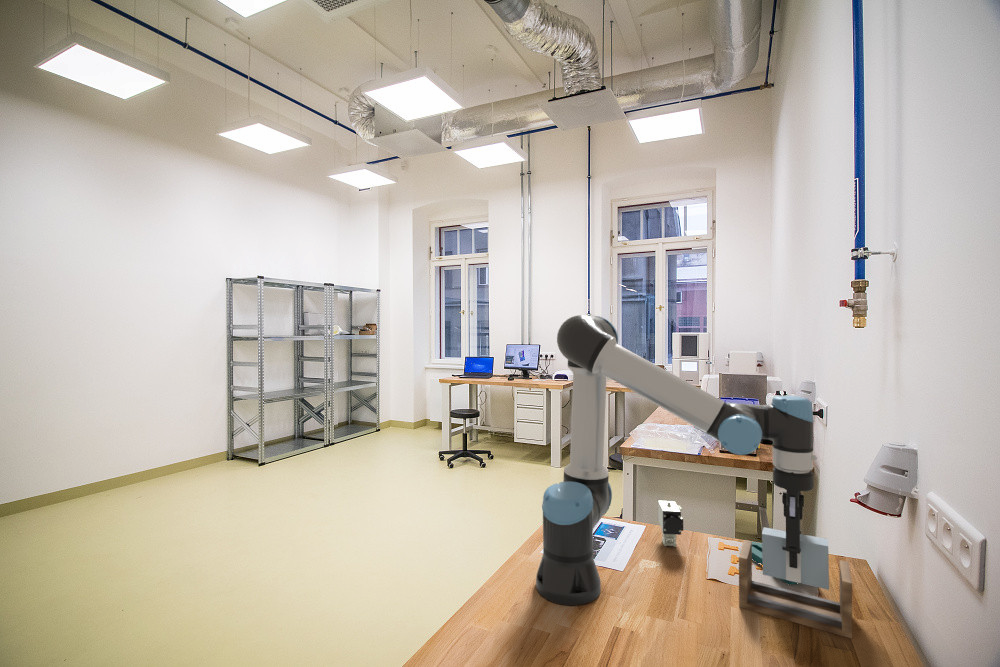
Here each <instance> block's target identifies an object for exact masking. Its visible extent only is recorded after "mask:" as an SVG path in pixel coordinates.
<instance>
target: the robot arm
mask: <svg viewBox="0 0 1000 667" xmlns="http://www.w3.org/2000/svg"><path fill="white" fill-rule="evenodd" d="M556 343H557V347H558V349H559V351H560V353H561V355H562V356H563V357H564V358H565V359H566V360H567V368H568V370H570V371H571V372H572V374H573V375H572V394H571V395H572V397H571V398H572V399H571V400H572V401H571V421H570V422H571V426H570V429H571V430H570V450H569V451H570V452H569V463H568V464H567V465H565V467H564V468H563V481H560V482H559V483H553V484H552V485H550V486H549V487H547V488H546V489H545V491H544V492H543V498H542V504H541V508H542V539H543V540H542V544H543V546H542V548H543V552H542V553H543V554H542V557H541V560H540V563H539V566H538V569H537V573H536V576H535V579H536V581H535V586H536V590H537V592H538V594H539V595H540V596H542V597H543V599H546V600H547V601H549V602H552V603H555V604H559V605H563V606H581V605H586V604H589V603H591V602H593V601H595V600H596V599H598V597H599V596H600V595H601V591H602V590H601V588H602V587H601V586H602V585H601V582H602V581H601V577H600V574H599V571H598V567H597V566H596V562H595V559H594V555H593V554H594V552H593V551H594V550H593V549H594V547H593V544H594V543H593V540H594V537H593V532H594V528H595V527H596V526H597V524H598V523H599V522H600V521H601V519H602V518H603V517H604V516H605V515H606V513H607V512H608V511H609V509H610V506H611V503H612V499H613V490H612V487H611V484H610V482H609V478H610V475H609V474H610V473H609V471H608V470H607V468H606V467H604V451H605V423H606V402H607V401H606V399H607V377H608V378H609V379H611V380H613V381H614V382H616V383H618V384H619V385H621V386H623V387H624V388H627V389H628V390H630V391H632V392H634V393H635V394H637V395H639V396H641V397H642V398H644V399H646V400H647V401H649V402H651V403H653V404H654V405H657V406H658V407H660V408H662V409H663V410H666V411H667V412H669V414H672V415H674V416H676V417H677V418H679V419H681V420H682V421H684V422H686V423H687V424H690V425H691V426H693V427H695V428H696V429H698V430H700V431H702V432H703V433H706V434H707V435H709V436H710V437H712V438H714V439H715V440H717V441H719V443H720V444H721V446H722V447H723V448H724V449H725V450H726V451H728V452H729V453H732V454H735V455H740V456H743V455H744V456H745V455H749V454H751V453H753V452H754V451H756V450H757V449H758V448H759V446H760V444H761V442H762V440H771V441H772V466H774V467H773V468H772V483H773V484H774V486H776V487H778V488H780V489H784V490H786V491H782V495H781V497H782V498H781V500H782V505H783V517H785V531H786V547H784V546H782V550H786V580H789V581H793V582H797V583H801V549H800V534H802V531H801V521H802V520H803V516H804V515H803V512H804V510H803V508H804V506H805V505H804V504H805V495H804V494H802V492H810V491H812V490H813V489H814V488H815V484H814V482H815V480H814V479H815V476H814V472H813V471H812V470H814V461H816V460H818V457H817V455H815V454H814V422H815V420H814V413H813V412H814V410H813V402H812V401H811V400H810V399H809V398H807V397H803V396H796V395H776V396H773V398H772V399H771V400H772V401H771V404H753V403H739V402H738V403H737V402H735V403H734V402H729V401H728V402H725V401H724V400H721V399H720V398H718V397H717V396H714V395H712V394H711V393H709V392H707V391H705V390H704V389H702V388H699V387H697V386H696V385H694V384H692V383H690V382H688V381H686V380H685V379H683V378H681V377H679V376H677V375H675V373H672V372H670V371H668V370H666V369H664V368H662V367H661V366H659V365H657V364H655V363H653V362H651V361H649V360H648V359H646V358H644V357H642V356H640V355H638V354H636V353H634V352H633V351H631V350H629V349H627V348H625V347H624V346H622V345H620V344H618V343H619V334H618V332H617V329H616V327H615V326H614V324H613V323H612V322H611V321H609V320H608V319H606V318H605V317H603V316H600V315H581V314H580V315H574V316H571V317H569V318H567V319H566V320H565V321H564V322H562V324H561V325H560V327H559V329H558V331H557V336H556Z"/></svg>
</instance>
